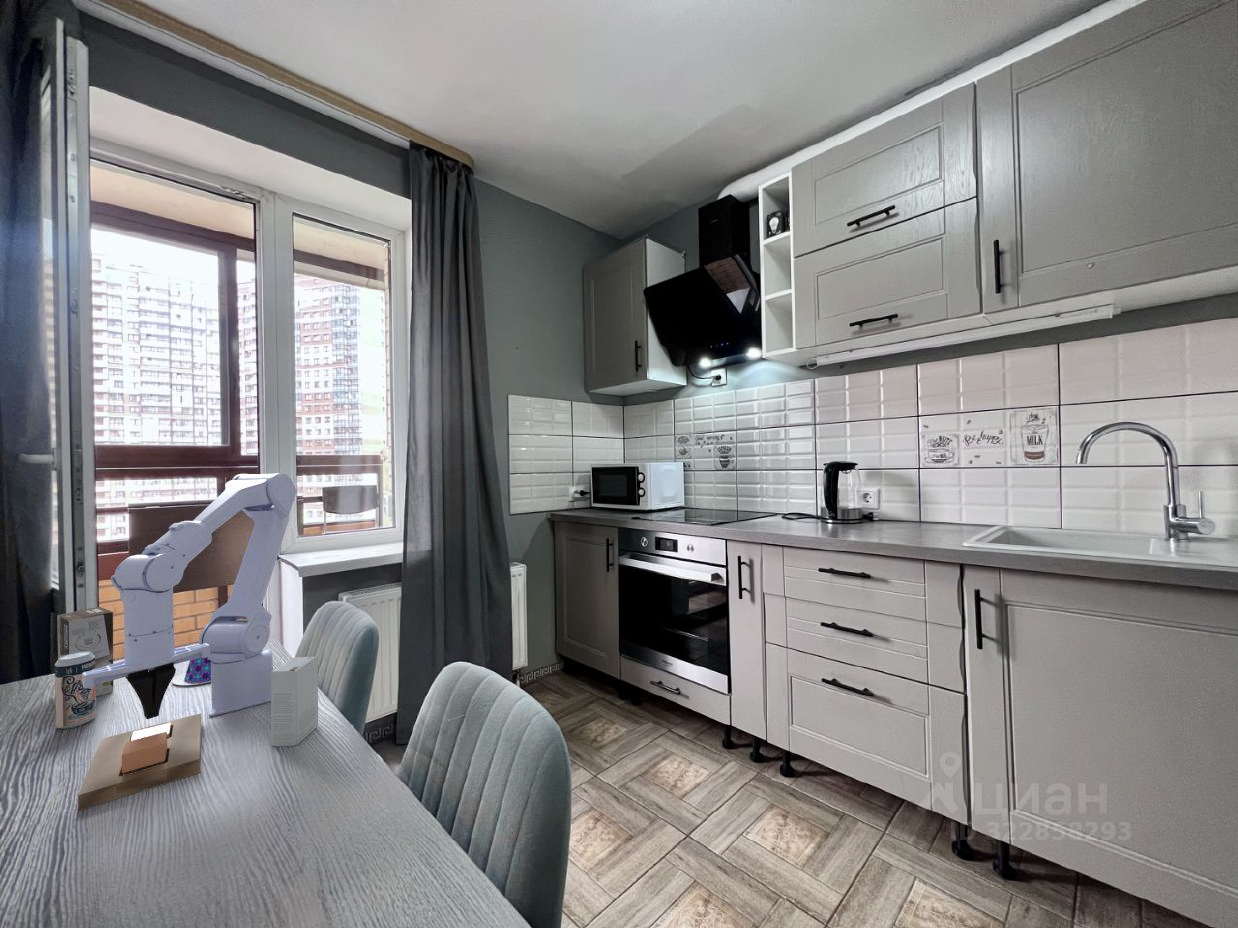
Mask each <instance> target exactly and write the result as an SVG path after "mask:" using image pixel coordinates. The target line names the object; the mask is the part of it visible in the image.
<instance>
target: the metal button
mask: <svg viewBox="0 0 1238 928" xmlns="http://www.w3.org/2000/svg"><path fill="white" fill-rule="evenodd" d="M166 731H167V738H170V737H171V723H167V724H163V725H159V726H155V727H151V728H147V729H143V730H139V731H136V732H133V735H132V738H131V741H132V740H136V739H139V738H143V737H147V736H151V735H155V734H158V733H162V732H166Z"/></svg>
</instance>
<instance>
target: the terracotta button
mask: <svg viewBox="0 0 1238 928" xmlns="http://www.w3.org/2000/svg"><path fill="white" fill-rule="evenodd" d="M166 752H167V731H166V732H162V733H158V734H155V735H151V736H147V737H143V738H139V739H136V740H132V741H128V742H126V743H125V746H124V749H123V752H122V773H125V772H129V771H132V770H135V769H139V768H142V767H146V766H149V765H153V764H156V763H159V762H163V761H165V758H166Z"/></svg>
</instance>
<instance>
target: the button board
mask: <svg viewBox="0 0 1238 928" xmlns="http://www.w3.org/2000/svg"><path fill="white" fill-rule="evenodd" d="M167 723H171V737H170V738H167V752H166V758H165V761H163V762H159V763H156V764H153V765H149V766H146V767H142V768H139V769H135V770H132V771H129V772H125V773H122V752H123V749H124V746H125V743H126V742H128V741H131V738H132V735H133V732H136V731H139V730H143V729H147V728H151V727H155V726H159V725H163V724H167ZM201 744H202V713H201V712H200V713H197V714H193V715H189V716H188V715H187V716H185V717H181V718H177V719H173V720H170V721H164V722H162V723H158V724H153V725H149V726H145V727H141V728H137V729H135V730H130V731H126V732H123V733H118V734H115V735H111V736H107V737H103V738H100V741H99V744H98V747H97V749H96V751H95V753H94V756H93V758H92V761H91V763H90V766H89V768H88V770H87V773H86V775H85V778H84V780H83V783H82V785H81V787H80V789H79V792H78V795H77V807H78V808H77V810H78V812H80V811H83V810H85V809H88V808H89V809H90V808H92V807H95V806H97V805H101V804H104V803H107V802H111V801H114V800H117V799H121V798H124V797H126V796H130V795H133V794H137V793H140V792H143V791H146V790H149V789H152V788H156V787H159V786H161V785H165V784H168V783H171V782H174V781H177V780H181V779H184V778H187V777H190V776H193V775H197V774H200V772H201V748H202V747H201Z"/></svg>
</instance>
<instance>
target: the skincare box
mask: <svg viewBox="0 0 1238 928" xmlns="http://www.w3.org/2000/svg"><path fill="white" fill-rule="evenodd" d="M318 662H319V661H318V656H298V657H292V658H291V659H289V660H287V662H284V663H283V664H281V665H280V666H279V667H276V668H275V669H273V671H272V672H271V701H270V721H271V722H270V732H271V733H270V735H271V736H270V737H271V738H270V740H271V741H270V743H271V744H270V745H271V747H295V746H298V745H299V744H300V743H301V742H302V741H304V740H305V738H307V737H308V736H309V735H310V734H311V733H312V732H313V731H314V730H315V729H317V727H319V672H318V671H319V670H318V669H319V665H318V664H319V663H318Z"/></svg>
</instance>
